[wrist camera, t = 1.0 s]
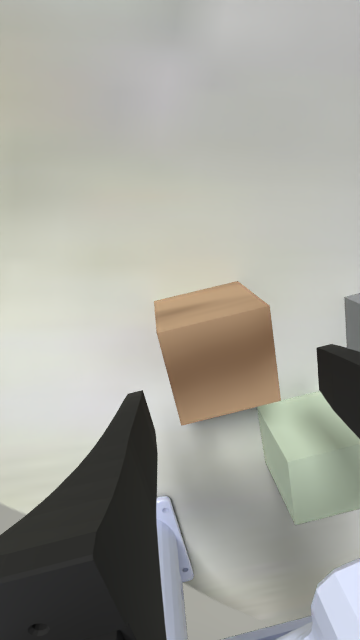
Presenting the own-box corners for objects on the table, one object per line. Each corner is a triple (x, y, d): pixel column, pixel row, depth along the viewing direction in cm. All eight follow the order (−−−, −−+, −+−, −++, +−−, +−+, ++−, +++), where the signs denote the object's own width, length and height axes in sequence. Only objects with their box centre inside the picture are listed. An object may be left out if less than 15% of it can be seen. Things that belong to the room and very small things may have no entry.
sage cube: (329, 444, 23) (376, 504, 18) (264, 460, 23) (295, 525, 18) (326, 388, 21) (377, 439, 16) (256, 405, 21) (287, 461, 16)
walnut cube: (248, 355, 20) (281, 400, 15) (173, 374, 19) (181, 425, 15) (237, 280, 18) (269, 305, 13) (154, 300, 18) (156, 333, 13)
